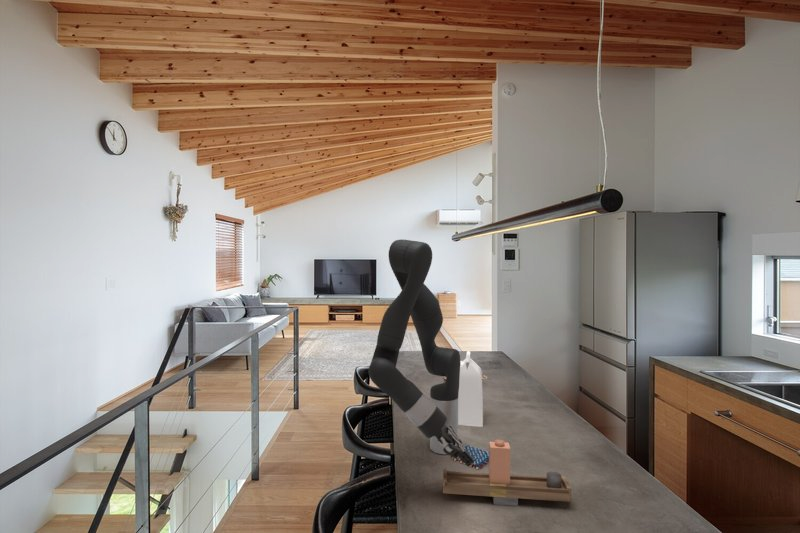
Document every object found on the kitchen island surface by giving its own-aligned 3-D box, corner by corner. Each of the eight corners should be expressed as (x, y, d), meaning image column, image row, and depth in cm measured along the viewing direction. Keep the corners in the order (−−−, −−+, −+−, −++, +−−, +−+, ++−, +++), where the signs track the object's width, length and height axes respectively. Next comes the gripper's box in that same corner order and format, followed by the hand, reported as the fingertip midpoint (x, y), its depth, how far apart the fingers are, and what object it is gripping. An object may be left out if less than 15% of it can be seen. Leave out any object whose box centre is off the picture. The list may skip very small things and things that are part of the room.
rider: (488, 478, 113) (489, 437, 113) (507, 479, 113) (508, 438, 112) (490, 485, 110) (490, 443, 109) (509, 487, 109) (510, 444, 109)
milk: (482, 426, 158) (483, 357, 157) (451, 424, 160) (452, 355, 159) (483, 414, 169) (483, 350, 169) (454, 412, 172) (454, 348, 171)
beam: (443, 487, 116) (443, 462, 116) (564, 495, 112) (564, 469, 112) (442, 501, 110) (443, 474, 110) (571, 509, 106) (571, 482, 106)
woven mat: (466, 449, 140) (467, 443, 140) (496, 459, 133) (496, 453, 133) (449, 460, 132) (449, 454, 132) (479, 472, 125) (479, 465, 125)
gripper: (434, 414, 106) (484, 466, 105) (435, 397, 119) (479, 442, 118) (413, 434, 106) (462, 485, 106) (416, 415, 120) (460, 460, 119)
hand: (471, 462), depth 112 cm, fingers closed
